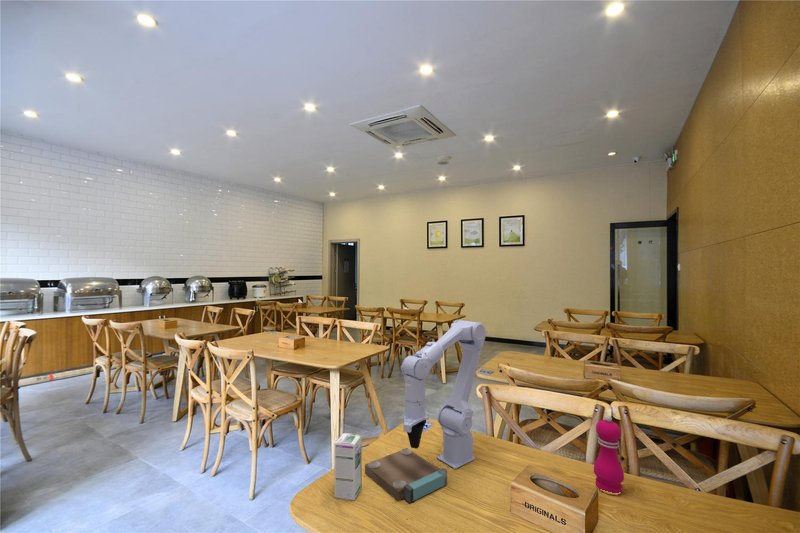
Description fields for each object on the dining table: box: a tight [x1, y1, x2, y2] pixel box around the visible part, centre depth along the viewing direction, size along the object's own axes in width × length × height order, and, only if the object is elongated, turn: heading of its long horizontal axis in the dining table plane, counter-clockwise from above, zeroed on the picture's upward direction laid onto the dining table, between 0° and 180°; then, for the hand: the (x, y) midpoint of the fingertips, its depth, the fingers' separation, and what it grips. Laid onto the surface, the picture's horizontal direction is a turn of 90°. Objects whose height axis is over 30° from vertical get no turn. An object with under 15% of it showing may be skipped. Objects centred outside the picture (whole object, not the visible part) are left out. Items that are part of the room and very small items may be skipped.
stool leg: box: [403, 468, 448, 504], centre depth 93 cm, size 14×3×3 cm, turn 127°
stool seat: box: [364, 447, 440, 502], centre depth 100 cm, size 16×16×3 cm
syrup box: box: [334, 432, 363, 501], centre depth 92 cm, size 6×6×14 cm
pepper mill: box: [593, 414, 625, 493], centre depth 95 cm, size 7×7×20 cm
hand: (414, 447), depth 98 cm, fingers closed
